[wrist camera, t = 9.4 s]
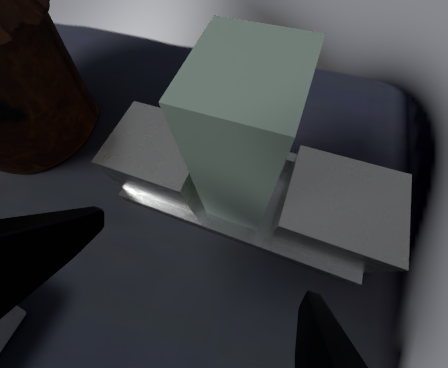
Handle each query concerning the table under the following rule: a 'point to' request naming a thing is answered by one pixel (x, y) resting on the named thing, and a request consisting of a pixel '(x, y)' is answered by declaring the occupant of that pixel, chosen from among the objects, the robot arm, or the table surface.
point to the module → (240, 111)
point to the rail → (275, 201)
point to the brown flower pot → (38, 91)
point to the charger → (10, 324)
